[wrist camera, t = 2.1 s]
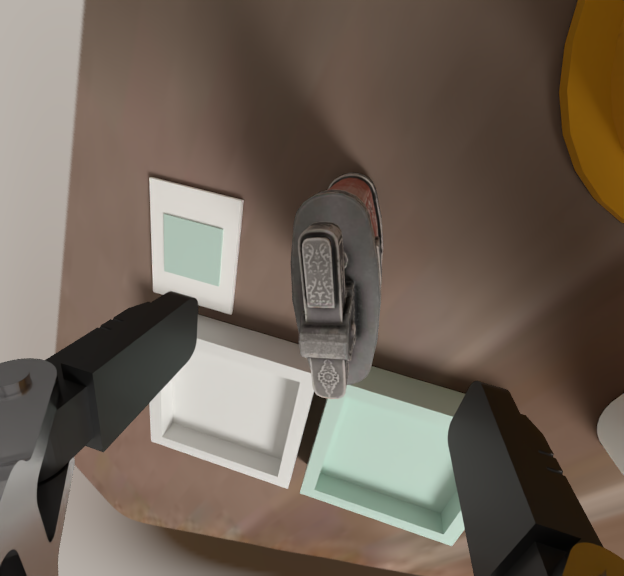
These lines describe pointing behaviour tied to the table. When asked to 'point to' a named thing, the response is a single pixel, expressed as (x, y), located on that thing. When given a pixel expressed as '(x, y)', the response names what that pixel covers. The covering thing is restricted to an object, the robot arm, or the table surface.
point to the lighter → (338, 282)
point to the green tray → (389, 455)
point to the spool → (596, 100)
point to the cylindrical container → (613, 431)
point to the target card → (195, 243)
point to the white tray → (237, 402)
